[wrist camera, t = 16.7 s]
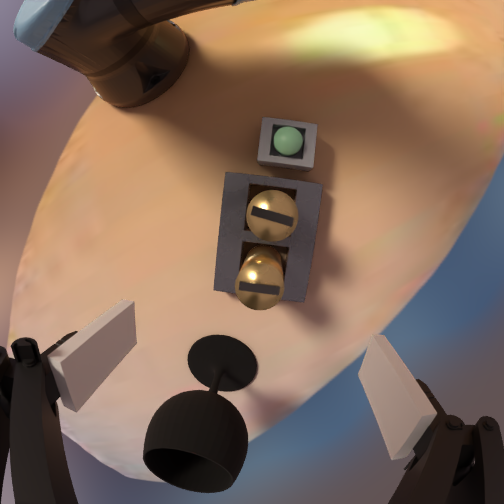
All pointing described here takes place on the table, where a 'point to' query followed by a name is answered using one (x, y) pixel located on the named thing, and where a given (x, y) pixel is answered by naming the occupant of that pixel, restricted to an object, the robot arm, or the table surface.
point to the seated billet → (272, 215)
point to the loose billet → (260, 278)
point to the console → (298, 161)
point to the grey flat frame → (237, 233)
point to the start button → (287, 141)
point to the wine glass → (203, 421)
